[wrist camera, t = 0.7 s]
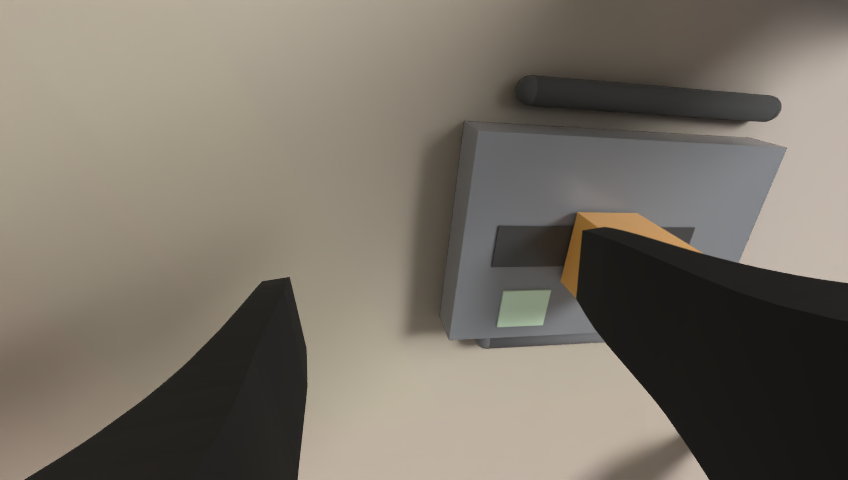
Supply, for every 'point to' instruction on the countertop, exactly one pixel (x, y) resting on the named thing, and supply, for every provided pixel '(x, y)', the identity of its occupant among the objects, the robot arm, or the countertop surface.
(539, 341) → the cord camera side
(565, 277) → the knob
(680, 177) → the breaker panel
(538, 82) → the dark grey rod
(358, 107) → the countertop surface
